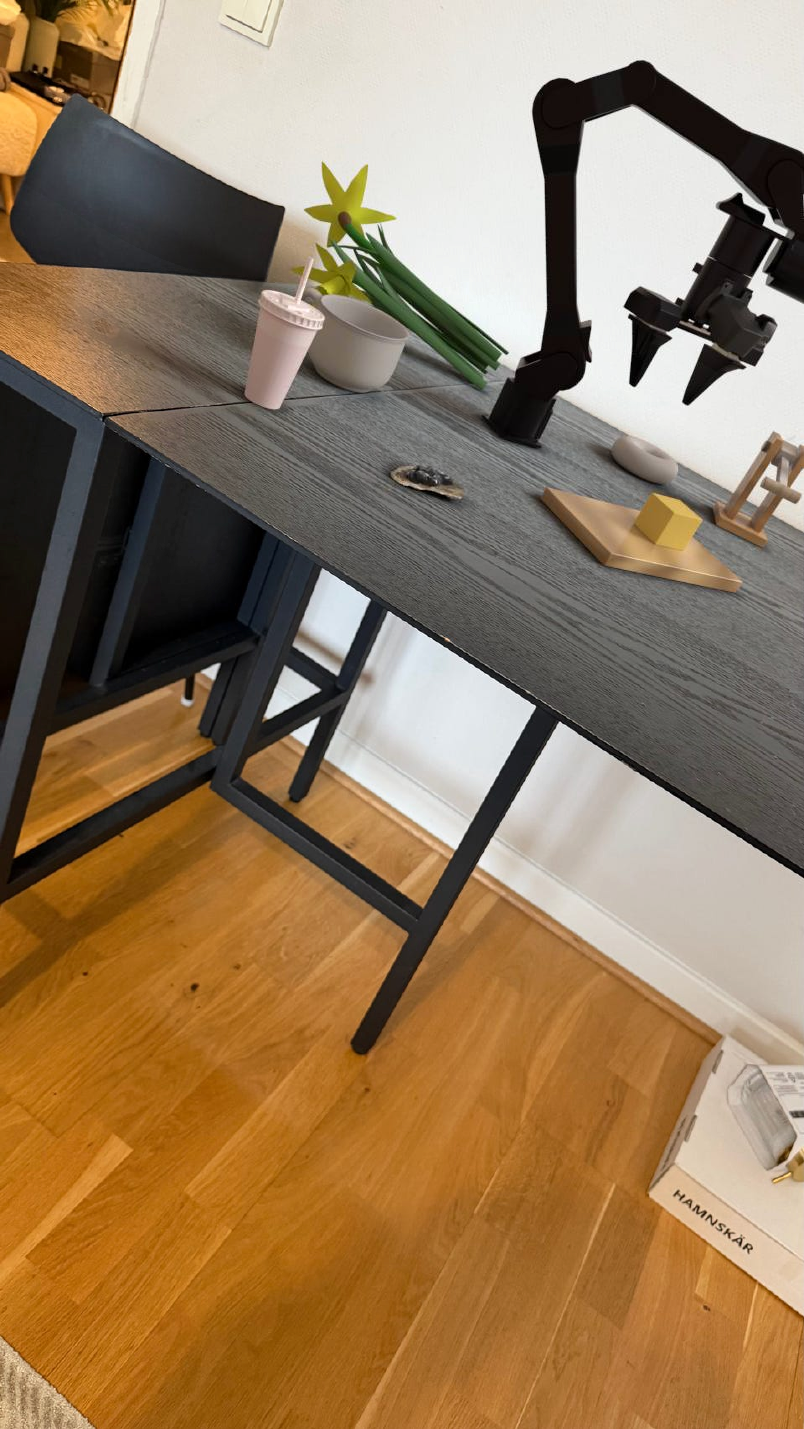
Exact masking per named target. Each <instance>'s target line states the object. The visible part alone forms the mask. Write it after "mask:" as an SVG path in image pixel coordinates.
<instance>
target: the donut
mask: <svg viewBox="0 0 804 1429" xmlns="http://www.w3.org/2000/svg"><path fill="white" fill-rule="evenodd" d="M611 454H612V457H613V459H614V460H615V462H616V463H617V464H618V465H619V466H621V467H622V468H623V469H625V470H626V471H628V472H629V473H631V474H633V475H635V476H637V477H639V478H640V479H643V480H644V481H648V482H651V483H653V484H659V485H666V484H669V483H671V482H673V481H674V480H675V479H676V477H677V475H678V473H679V465H678V463H677V462H676V459H675V458H674V457H672V456H671V455H670V454H669V453H668V452H666V451H665V450H663V449H661V448H660V447H659V446H657V445H655V444H653V443H651V442H649V441H646V440H644V439H641V438H639V437H637V436H632V435H623V436H619V437H618V438H616V439H615V441H614V443H613V444H612V446H611Z"/></svg>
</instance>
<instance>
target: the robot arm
mask: <svg viewBox="0 0 804 1429" xmlns="http://www.w3.org/2000/svg"><path fill="white" fill-rule="evenodd" d="M631 107H633V108H635V109H638V110H639V111H641V112H642V113H644V114H645V115H647V116H648V117H649V118H651V119H653V120H654V121H656V122H657V123H658V124H660V125H661V126H663V127H665V128H666V129H667V130H668V131H670V132H672V133H674V134H675V135H676V136H678V137H679V138H681V139H683V140H684V141H685V142H687V143H689V144H690V145H691V146H693V147H694V148H696V149H697V150H698V151H701V152H702V153H703V154H705V155H706V156H708V157H709V158H710V159H712V160H714V161H715V162H717V163H718V164H719V165H720V166H721V167H722V168H723V170H725V171H726V172H727V173H728V175H729V176H730V177H731V178H732V179H733V180H734V182H735V183H737V184H738V186H739V187H740V188H741V189H742V190H743V191H744V192H745V193H746V194H747V195H748V196H749V197H750V198H751V199H752V200H753V201H754V202H755V203H757V204H758V205H759V206H762V207H765V208H767V211H768V214H769V215H770V218H771V220H772V222H773V224H774V225H776V226H779V227H781V228H783V229H784V230H787V232H786V234H785V235H783V234H781V233H779V232H777V231H775V230H773V229H771V228H770V227H767V226H765V225H764V224H765V221H766V216H767V215H766V213H764V212H762V211H760V210H758V209H756V208H754V207H752V206H750V205H748V204H746V203H745V202H744V196H743V193H742V192H739V191H738V192H735V194H732V195H731V197H729V198H726V199H723V200H721V201H720V200H719V201H717V202H716V203H715V208H716V210H718V211H720V212H722V213H724V214H726V215H728V218H727V220H726V221H725V223H724V226H723V227H722V230H721V231H720V233H719V234H718V237H717V238H716V241H715V242H714V244H713V246H712V248H711V249H710V252H709V253H708V255H707V257H706V259H705V260H704V262H703V264H702V263H700V262H695V264H694V266H693V268H692V269H691V272H693V273H695V274H697V275H696V277H695V279H694V281H693V283H692V285H691V286H690V288H689V290H688V292H687V294H686V296H685V298H684V299H683V298H681V297H678V296H677V298H676V300H675V302H673V301H672V300H670V299H668V298H667V297H665V296H664V295H662V294H661V293H658V292H656V291H653V290H651V289H648V288H646V287H644V286H641V285H639V286H638V287H637V288H635V289H633V290H632V291H630V292H629V294H628V297H627V298H626V300H625V303H624V304H623V308H624V309H625V310H627V311H628V312H629V313H628V314H627V319H628V320H630V321H631V354H630V363H629V364H630V365H629V366H630V367H629V377H628V384H629V386H631V387H632V388H637V386H638V385H639V383H640V382H641V381H642V379H643V378H644V376H645V374H646V372H647V371H648V369H649V367H650V365H651V364H652V361H653V360H654V358H655V356H656V354H657V353H658V351H659V349H660V348H661V347H662V346H664V345H665V344H667V343H668V342H670V341H672V340H673V337H672V336H670V335H669V334H668V333H670V332H671V331H673V330H675V329H678V330H681V331H684V332H687V333H689V334H690V335H691V334H692V335H694V336H696V337H699V338H701V339H704V340H706V341H708V342H710V343H712V344H711V345H710V344H708V343H703V346H702V347H701V351H700V353H699V355H698V357H697V360H696V362H695V365H694V368H693V370H692V372H691V376H690V377H689V380H688V382H687V385H686V388H685V390H684V394H683V396H682V400H681V403H682V404H683V405H684V406H687V407H688V406H690V405H691V404H692V403H693V402H695V401H696V400H697V399H698V398H699V397H700V396H701V395H702V394H703V393H705V391H706V390H708V389H709V388H710V387H711V386H713V384H714V383H715V382H717V381H718V380H719V379H720V378H721V377H722V376H724V375H726V374H727V373H731V372H733V371H737V370H742V371H743V370H746V369H747V365H750V366H752V367H756V366H757V365H758V363H759V361H760V360H761V358H762V357H763V355H764V353H765V348H766V346H767V345H768V344H769V343H770V342H771V340H772V338H773V336H774V334H775V332H776V330H777V328H778V327H779V325H778V323H777V322H776V320H775V318H774V317H772V316H770V315H768V314H765V313H761V314H759V315H758V314H756V313H755V312H752V311H751V310H750V308H749V304H750V302H751V301H752V299H753V293H754V290H753V289H751V288H749V285H750V283H751V282H752V280H753V278H754V276H755V275H756V273H757V271H758V269H759V268H760V266H761V264H762V262H763V260H764V259H765V257H766V256H767V254H768V252H769V250H770V249H771V247H772V245H773V243H774V242H775V240H777V241H776V243H775V245H774V246H773V248H772V250H771V251H770V252H769V254H768V256H767V258H766V260H765V262H764V264H763V266H762V270H761V272H762V273H763V274H765V275H767V276H766V279H765V286H767V287H768V288H771V290H772V289H773V290H774V291H776V292H779V293H781V294H782V295H784V296H786V297H789V298H790V299H793V300H795V301H796V302H798V303H801V304H803V305H804V152H803V151H801V150H800V149H798V148H794V147H792V146H790V145H787V144H785V143H783V142H780V141H777V140H775V139H772V138H769V137H766V136H763V135H760V134H758V133H754V132H752V131H749V130H747V129H744V128H743V127H741V126H739V125H738V124H737V123H735V122H734V121H733V120H731V119H729V118H728V117H726V116H725V115H723V114H722V113H720V112H719V111H717V110H716V109H714V108H713V107H712V106H710V105H708V104H706V102H704V101H702V100H701V99H700V98H698V97H697V96H695V95H694V94H692V93H691V92H689V91H687V89H685V88H683V87H682V86H680V85H679V84H677V83H676V82H674V81H673V80H671V79H670V78H668V77H667V76H666V75H664V74H663V73H661V72H659V71H658V69H657V68H656V67H655V66H654V65H653V64H652V63H651V62H650V61H647V60H645V59H640V60H639V59H638V60H634V61H632V62H631V63H630V62H629V64H628V65H626V66H624V67H621V68H617V69H614V70H611V71H607V72H604V73H600V74H598V75H595V76H591V77H588V78H585V79H583V80H580V81H576V82H575V81H574V80H572V79H570V78H567V77H557V78H554V79H553V78H552V79H550V80H549V81H547V82H546V83H544V84H543V85H542V86H541V87H540V89H539V90H538V91H537V93H536V94H535V96H534V99H533V102H532V107H531V118H532V122H533V128H534V134H535V140H536V146H537V150H538V151H537V152H538V155H539V156H538V157H539V160H540V165H541V170H542V176H543V182H544V183H543V186H544V187H543V188H544V225H545V226H544V236H545V239H544V240H545V241H544V242H545V244H544V245H545V278H546V279H545V287H546V288H545V290H546V291H545V292H546V311H545V317H544V318H545V319H544V324H543V325H544V326H543V331H542V337H541V342H540V343H541V344H540V350H537V351H535V352H532V353H530V354H529V353H528V354H526V355H524V356H521V357H520V359H519V361H518V363H517V365H516V369H515V372H514V377H509V376H507V377H506V380H505V382H504V384H503V386H502V388H501V390H500V393H499V394H498V397H497V398H496V402H495V404H494V405H493V408H492V410H491V412H490V414H487V413H482V415H481V418H482V419H483V420H484V421H485V422H486V424H488V426H490V427H491V428H492V429H493V430H494V432H496V434H497V435H499V436H500V437H501V438H502V439H505V440H508V441H512V442H515V443H518V444H523V445H525V446H529V447H532V448H533V447H534V448H537V449H542V448H543V444H542V443H541V442H540V441H539V440H540V439H541V437H542V435H543V433H544V432H545V430H546V428H547V425H548V423H549V421H550V420H551V417H552V416H553V414H554V409H553V408H554V407H555V405H556V403H557V401H558V399H557V398H556V397H555V396H556V395H557V394H558V393H559V392H564V391H569V390H571V389H574V388H575V387H576V386H578V384H579V383H581V381H582V380H583V378H584V376H585V374H586V368H587V363H589V364H591V363H592V362H593V350H592V348H591V346H590V341H591V333H592V323H593V320H592V319H587V320H584V321H581V316H580V311H579V304H578V218H577V217H578V206H577V205H578V203H577V202H578V201H577V200H578V197H577V195H578V194H577V193H578V191H577V189H578V188H577V180H578V179H577V176H578V170H579V163H580V157H581V151H582V150H581V149H582V144H583V137H584V130H585V124H586V123H589V122H592V121H595V120H598V119H601V118H603V117H607V116H609V115H612V114H615V113H617V112H620V111H623V110H625V109H628V108H631ZM705 325H706V326H705ZM707 326H708V327H707ZM743 363H745V364H747V365H745V364H743Z"/></svg>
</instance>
